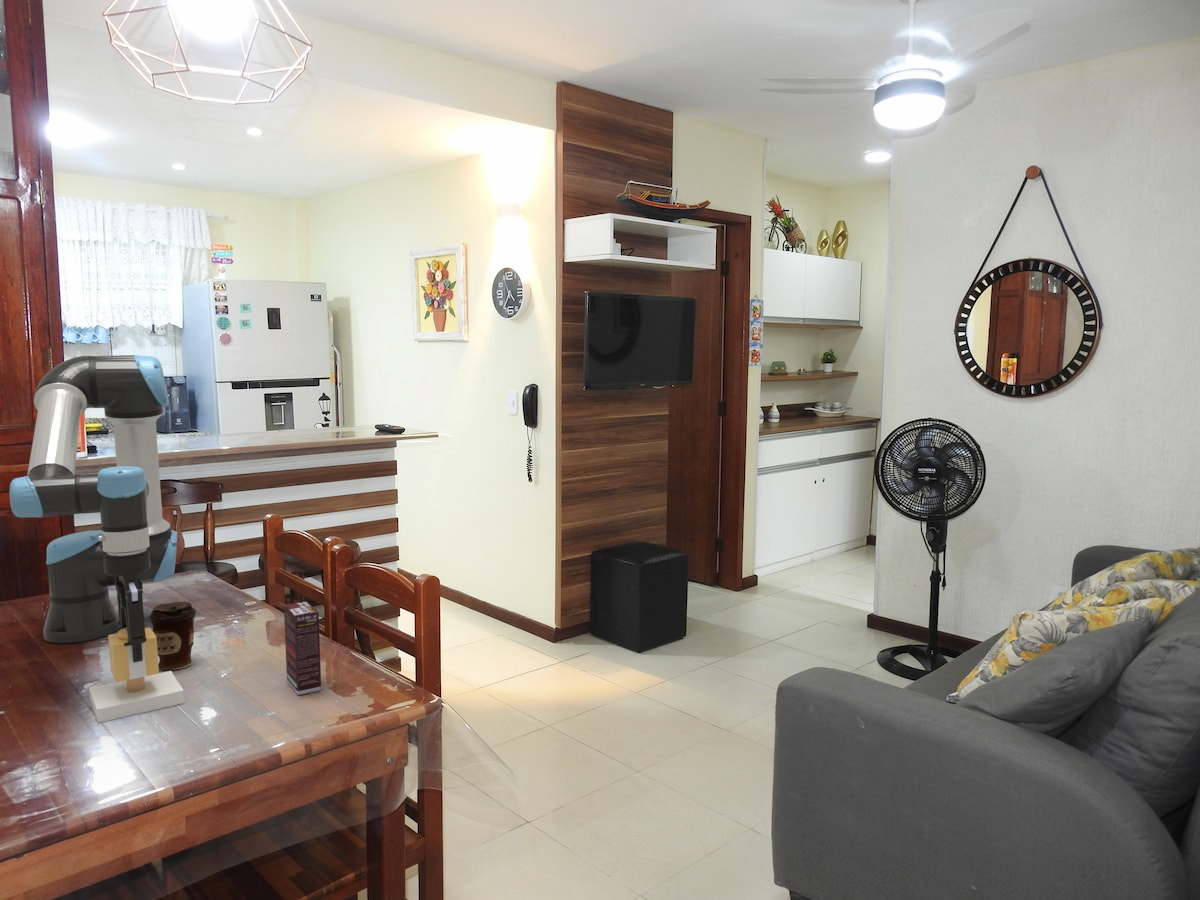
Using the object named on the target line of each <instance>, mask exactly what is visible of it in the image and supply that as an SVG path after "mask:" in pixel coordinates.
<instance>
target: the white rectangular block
mask: <svg viewBox="0 0 1200 900" xmlns="http://www.w3.org/2000/svg"><path fill="white" fill-rule="evenodd" d="M172 671H173V670H167V671H163V672H159V674H155V675H150V676H145V677H141V678H136V679H131V680H126V681H121V682H116V681H114V682H110V683H106V684H101V685H96V686H91V687H89V688H88V690H89V701H90V704H91V707H92V710H93V713H94V715H95V719H96V722H97V724H100V723H104V722H108V721H112V720H117V719H122V718H127V717H130V716H135V715H139V714H143V713H148V712H152V711H155V710H160V709H165V708H170V707H173V706H177V705H183V704H185V694H184V689H183V688H182V686H181V684H180V682H179V681H178V679H177V678H176V676H175V675H174V673H173V672H172Z"/></svg>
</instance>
